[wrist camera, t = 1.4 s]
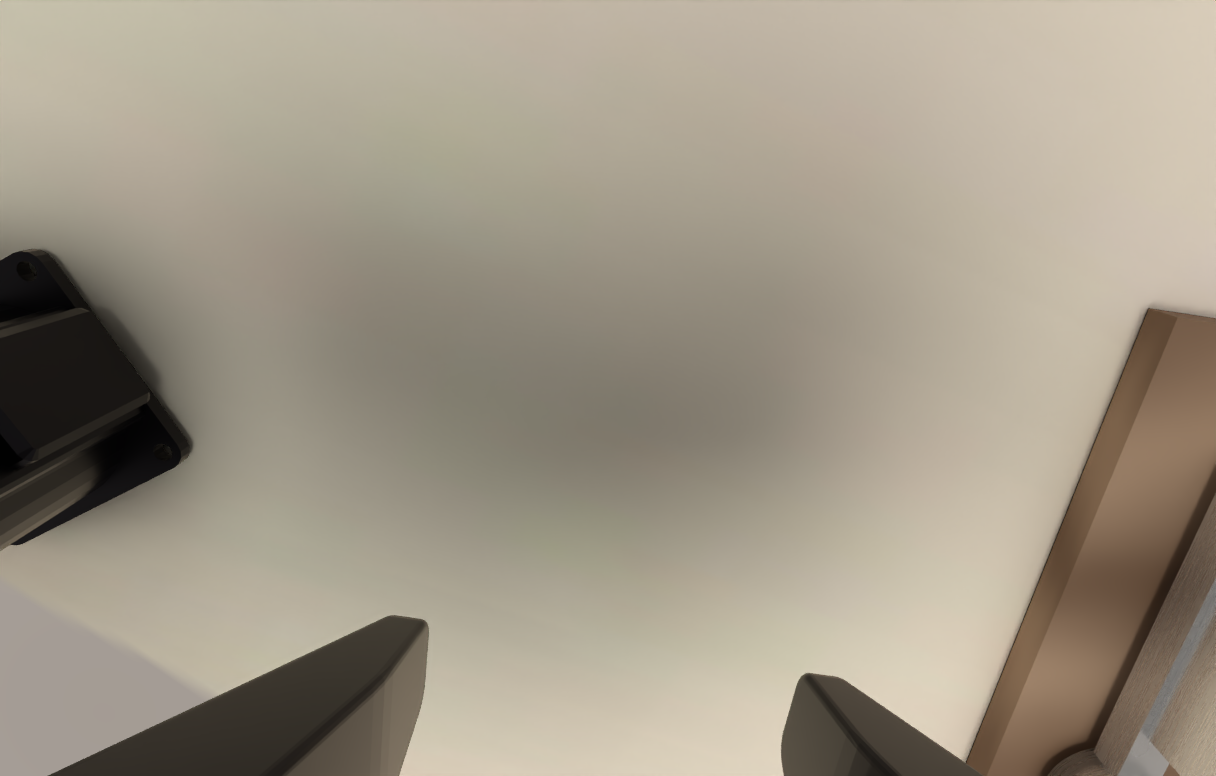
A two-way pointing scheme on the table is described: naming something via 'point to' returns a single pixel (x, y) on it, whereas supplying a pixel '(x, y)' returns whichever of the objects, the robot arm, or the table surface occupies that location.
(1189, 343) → the board
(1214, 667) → the lever
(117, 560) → the table surface
